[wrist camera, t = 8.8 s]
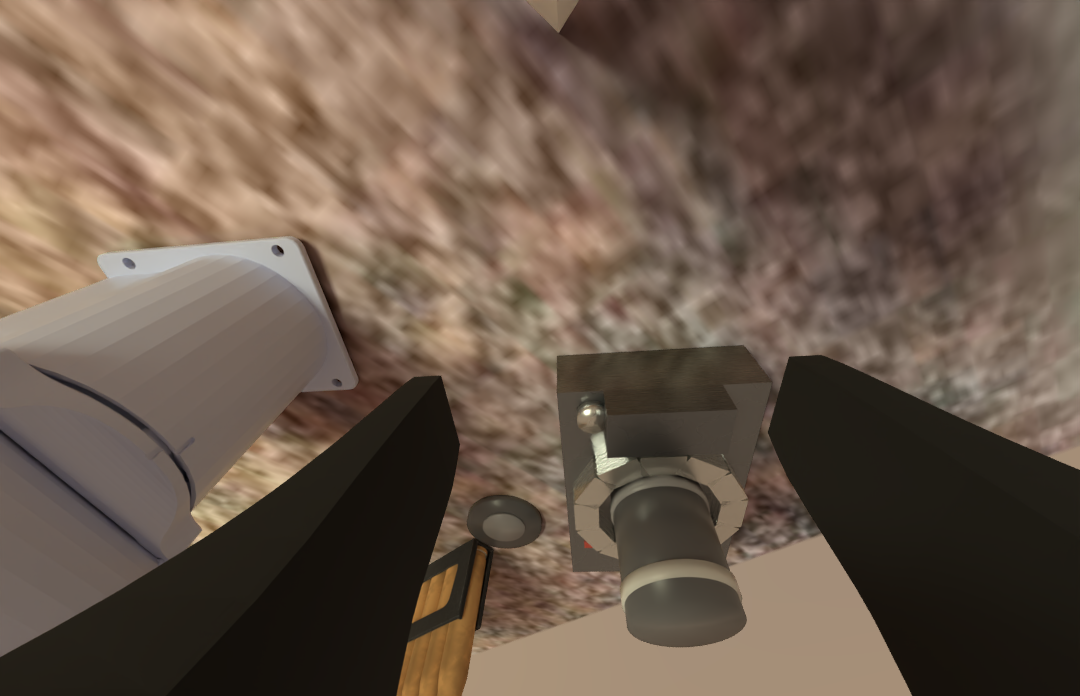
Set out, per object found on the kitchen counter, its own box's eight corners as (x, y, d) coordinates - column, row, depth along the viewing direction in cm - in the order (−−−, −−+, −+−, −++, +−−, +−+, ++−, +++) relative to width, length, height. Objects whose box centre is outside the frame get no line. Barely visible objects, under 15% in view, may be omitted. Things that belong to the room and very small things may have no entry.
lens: (609, 517, 21) (625, 648, 16) (605, 461, 19) (623, 598, 14) (696, 512, 21) (739, 647, 16) (704, 455, 18) (759, 594, 13)
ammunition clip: (476, 537, 28) (428, 783, 18) (494, 548, 29) (459, 793, 18) (389, 587, 32) (311, 811, 22) (408, 596, 33) (339, 818, 22)
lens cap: (478, 539, 28) (475, 552, 28) (461, 493, 26) (458, 506, 25) (546, 535, 28) (545, 549, 27) (536, 488, 26) (535, 501, 25)
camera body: (571, 527, 27) (573, 599, 23) (557, 355, 20) (556, 417, 16) (706, 524, 26) (732, 598, 22) (743, 345, 19) (791, 407, 15)
